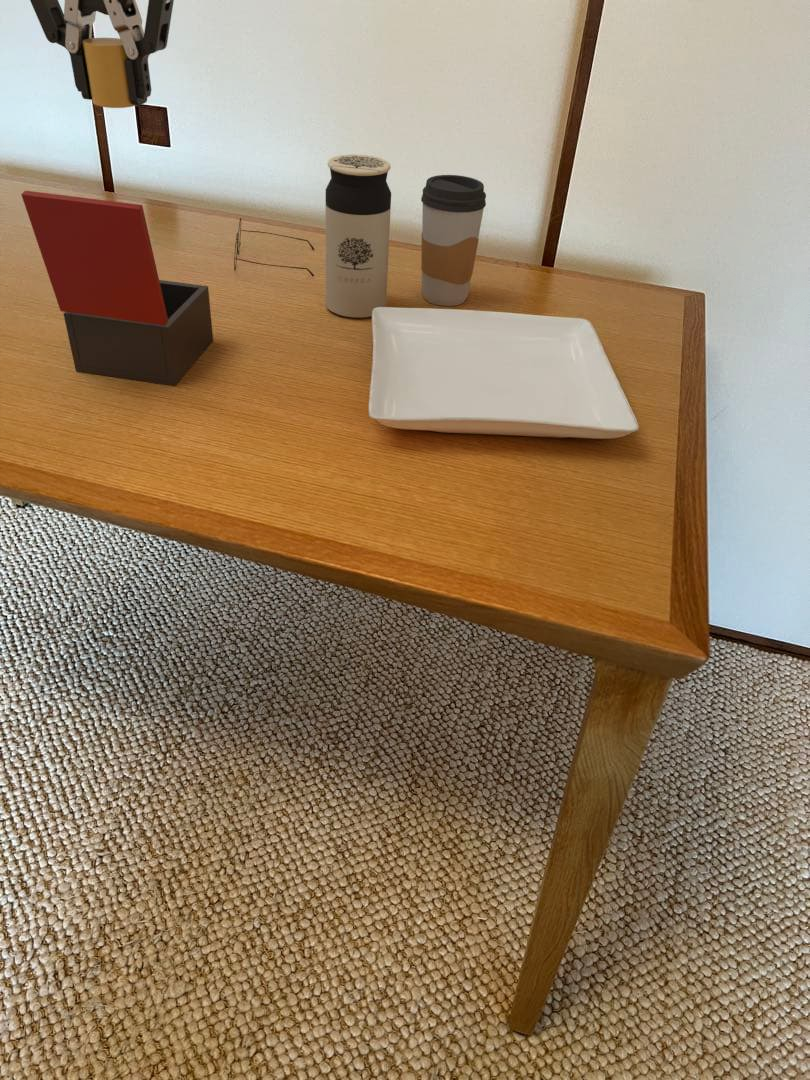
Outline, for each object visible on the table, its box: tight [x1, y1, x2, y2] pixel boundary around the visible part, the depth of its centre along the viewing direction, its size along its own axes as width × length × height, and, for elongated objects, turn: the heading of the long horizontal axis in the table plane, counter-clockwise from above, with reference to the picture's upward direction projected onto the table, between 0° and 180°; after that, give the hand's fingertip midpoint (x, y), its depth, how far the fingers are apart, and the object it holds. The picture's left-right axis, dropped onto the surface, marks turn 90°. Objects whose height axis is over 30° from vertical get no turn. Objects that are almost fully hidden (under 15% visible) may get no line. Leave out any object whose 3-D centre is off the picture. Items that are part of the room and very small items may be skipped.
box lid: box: [20, 190, 168, 326], centre depth 80 cm, size 13×12×1 cm
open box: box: [63, 279, 214, 387], centre depth 92 cm, size 12×12×7 cm
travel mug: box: [325, 154, 392, 319], centre depth 102 cm, size 8×8×18 cm
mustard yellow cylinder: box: [83, 37, 137, 109], centre depth 75 cm, size 4×4×5 cm
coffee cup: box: [420, 174, 487, 307], centre depth 107 cm, size 8×8×15 cm
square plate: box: [367, 306, 640, 440], centre depth 91 cm, size 27×27×4 cm
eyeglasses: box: [233, 217, 315, 277], centre depth 117 cm, size 11×13×5 cm
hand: (115, 99), depth 77 cm, fingers closed on mustard yellow cylinder, 4 cm apart
